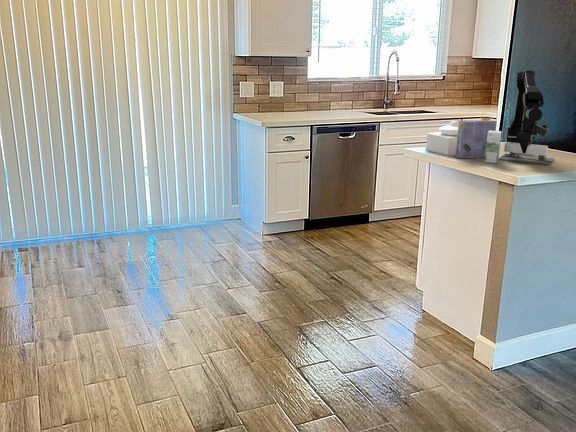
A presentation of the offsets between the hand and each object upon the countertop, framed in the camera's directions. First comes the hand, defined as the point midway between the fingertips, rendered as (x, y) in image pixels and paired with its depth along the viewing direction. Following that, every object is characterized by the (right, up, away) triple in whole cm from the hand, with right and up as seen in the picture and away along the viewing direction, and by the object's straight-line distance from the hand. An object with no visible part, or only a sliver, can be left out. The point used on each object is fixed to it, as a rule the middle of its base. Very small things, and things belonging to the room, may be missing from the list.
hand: (525, 152), depth 257 cm
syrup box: (-16, -5, -2) cm, 17 cm away
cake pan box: (-20, -1, +11) cm, 23 cm away
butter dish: (-27, +3, +25) cm, 37 cm away
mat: (0, -4, +1) cm, 4 cm away
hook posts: (+5, -2, +8) cm, 9 cm away
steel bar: (0, 0, 0) cm, 0 cm away
